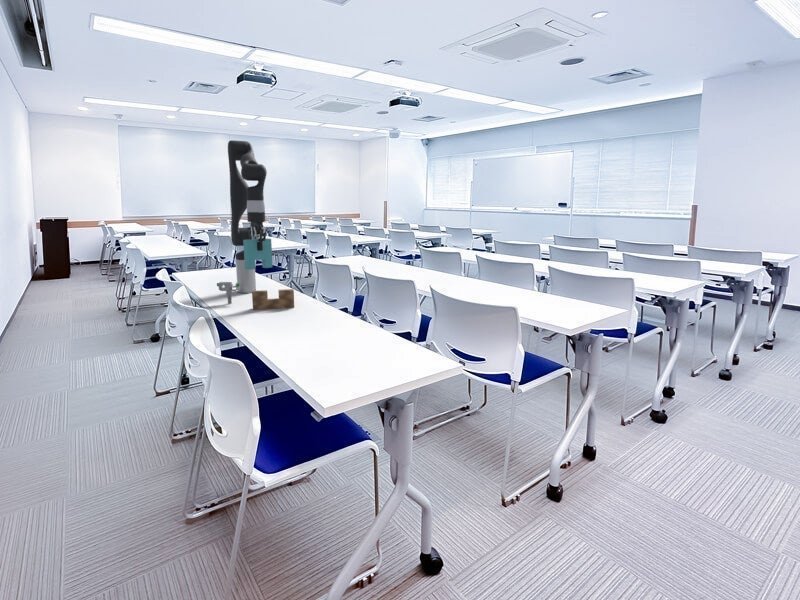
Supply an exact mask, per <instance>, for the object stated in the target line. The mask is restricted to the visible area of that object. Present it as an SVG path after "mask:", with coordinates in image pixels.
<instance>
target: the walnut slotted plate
mask: <svg viewBox="0 0 800 600" xmlns="http://www.w3.org/2000/svg"><path fill="white" fill-rule="evenodd" d="M277 292H278V298H277V297H276V298H268V290H267V289H266V290H263V289H262V290H256V291H252V292H251V298H252V301H251V302H252V311H257V310H258V311H260V310H275V309H276V310H277V309H289V308H290V309H291V308H292V309H293V308H295V291H294V288H292V289H291V288H287V289H286V288H285V289H278V291H277Z"/></svg>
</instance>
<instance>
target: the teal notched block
mask: <svg viewBox="0 0 800 600" xmlns="http://www.w3.org/2000/svg"><path fill="white" fill-rule="evenodd" d="M243 245H244V246H243V250H244V261H245V269H247V270H252V269H255V270H256V261H261V267H262V268H264V269H269V268H271V269H272V268H273V251H272V250H273V248H272V246H273V245H272V238H268V237H266V239H265V241H263V242H262V246H263V250H262V251H258V250H257V239H248V240H243Z"/></svg>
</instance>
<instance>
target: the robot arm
mask: <svg viewBox="0 0 800 600" xmlns="http://www.w3.org/2000/svg"><path fill="white" fill-rule="evenodd" d="M227 157H228V167H229V185H230V186H229V191H230V192H229V193H230V194H229V196H230V197H229V198H230V209H231V210H230V212H231V213H230V215H231V218H230V219H231V223H230V224H231V226H230V228H231V229H230V237H231V238H230V239H231V244H232V246H235V247H244V245H243V240H248V239H257V250H258V251H262V250H263V246H262V242H263V241H265V239H266V238H267V232H268V228H265V227H264V223H265V222H266V209H265V208H266V206H265V199H264V189H265V188H264V187H265V183H266V178H267V175H268V174H267V173H268V172H267V168H266V166H265V165H263V164H260V163H258V161H257V160H256V158H255V153H254V149H253V145H252V144H251V143H250V142H249V141H246V140H232V139H231V140H229V141H228V143H227ZM237 161H238V162H239V163H240V166H241V170H240V171H239V168H238V166H237ZM246 181H251V182H252V181H253V182H257V183H256V185H253V186H252V185H251V186H249V185H248V183H247V182H246ZM245 212H246V213H247V222H248V223H250V225H249V226H247V227H239V225H240V221H241V219H242V216H243V215H244V214H245ZM235 267H236V283H240V287H239V289H238V290H237V293H238V294H239V293H241V294H250V293H251V294H252V291H257V283H256V282H257V281H256V269H252V270H247V269H245V261H244V249H243V250H241V251H239V252H236V253H235Z"/></svg>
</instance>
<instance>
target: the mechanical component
mask: <svg viewBox="0 0 800 600" xmlns="http://www.w3.org/2000/svg"><path fill="white" fill-rule="evenodd" d="M216 286H217V287H218V290H219V291H220V292H226V293H225V294H226V296H227V304H228V305H231V304H232V295H233V292H238V289H239V287H240V283H237V282H235V285H234V284H233V282H232V281H219V282H217V283H216ZM234 288H236V289H234Z"/></svg>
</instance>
